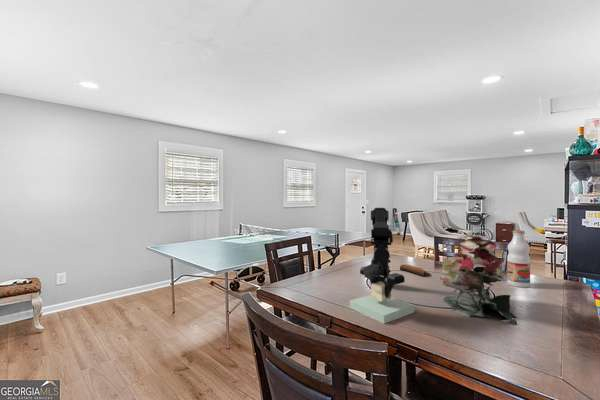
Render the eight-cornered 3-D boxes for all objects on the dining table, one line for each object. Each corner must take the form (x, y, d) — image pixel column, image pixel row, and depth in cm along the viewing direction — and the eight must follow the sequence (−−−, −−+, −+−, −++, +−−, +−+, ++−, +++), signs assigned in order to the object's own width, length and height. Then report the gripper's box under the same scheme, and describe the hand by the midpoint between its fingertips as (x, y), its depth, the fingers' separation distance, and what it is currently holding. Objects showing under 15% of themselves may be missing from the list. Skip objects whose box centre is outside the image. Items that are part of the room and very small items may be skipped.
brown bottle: (433, 275, 167) (429, 265, 165) (426, 282, 164) (422, 273, 162) (409, 268, 182) (405, 259, 181) (402, 275, 180) (398, 266, 178)
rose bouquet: (499, 298, 128) (499, 232, 128) (526, 327, 101) (527, 242, 100) (436, 292, 137) (436, 230, 136) (446, 317, 109) (445, 239, 109)
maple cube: (380, 294, 121) (380, 281, 120) (391, 298, 116) (390, 284, 116) (371, 297, 118) (371, 283, 117) (381, 301, 113) (381, 287, 113)
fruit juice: (514, 281, 153) (514, 229, 153) (534, 286, 145) (534, 231, 144) (503, 283, 150) (503, 230, 149) (522, 289, 141) (523, 232, 140)
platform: (379, 298, 129) (379, 292, 129) (414, 312, 114) (414, 304, 114) (349, 307, 119) (349, 300, 119) (383, 323, 104) (383, 315, 104)
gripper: (350, 255, 120) (350, 292, 120) (386, 264, 104) (386, 307, 105) (369, 252, 126) (369, 287, 126) (405, 260, 110) (405, 300, 111)
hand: (381, 295), depth 117 cm, fingers closed on maple cube, 5 cm apart
